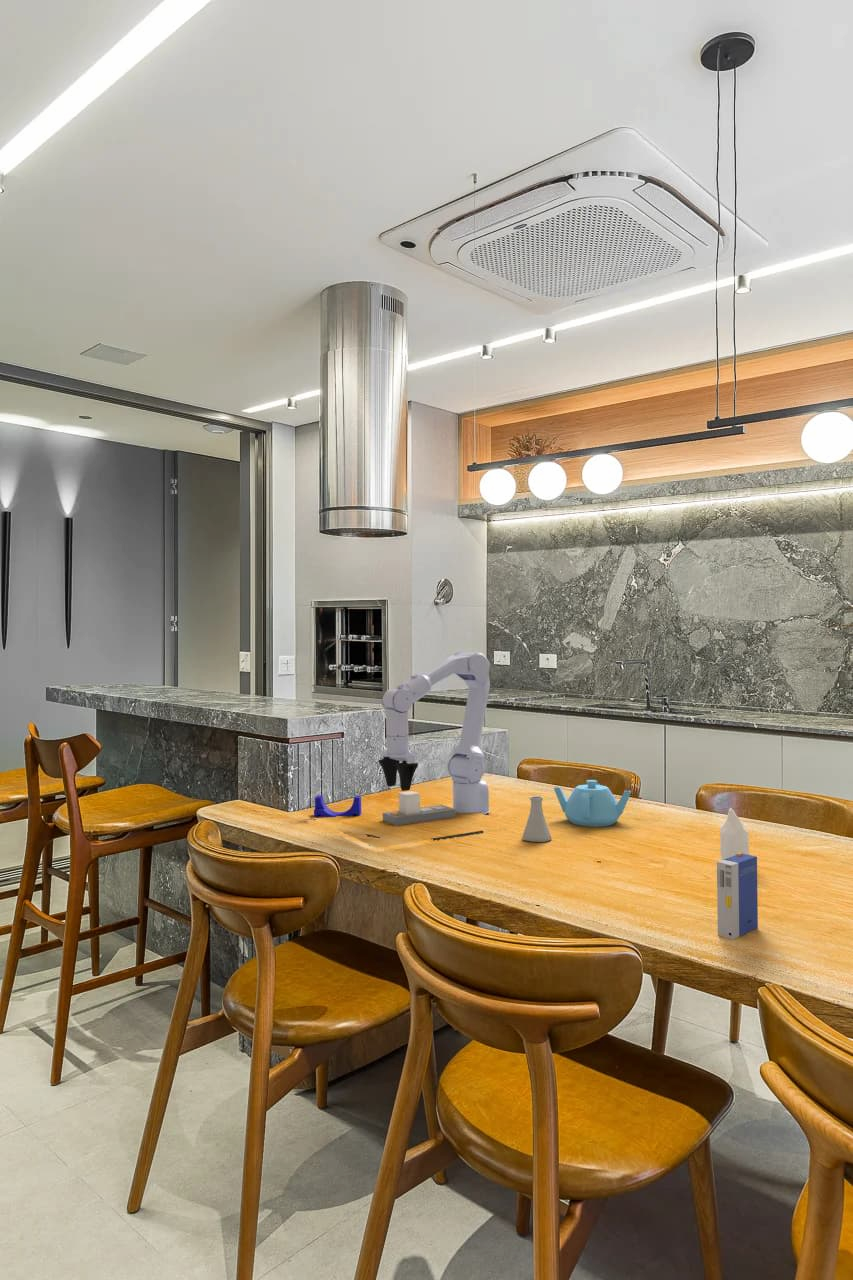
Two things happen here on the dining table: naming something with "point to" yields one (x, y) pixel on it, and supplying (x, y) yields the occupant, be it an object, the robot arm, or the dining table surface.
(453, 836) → the rubber mat
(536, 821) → the flask
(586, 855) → the dining table surface
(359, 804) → the blue arch block
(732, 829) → the glue bottle
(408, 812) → the plug
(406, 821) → the power strip
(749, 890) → the walkman
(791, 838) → the dining table surface
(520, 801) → the dining table surface
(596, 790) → the teapot
